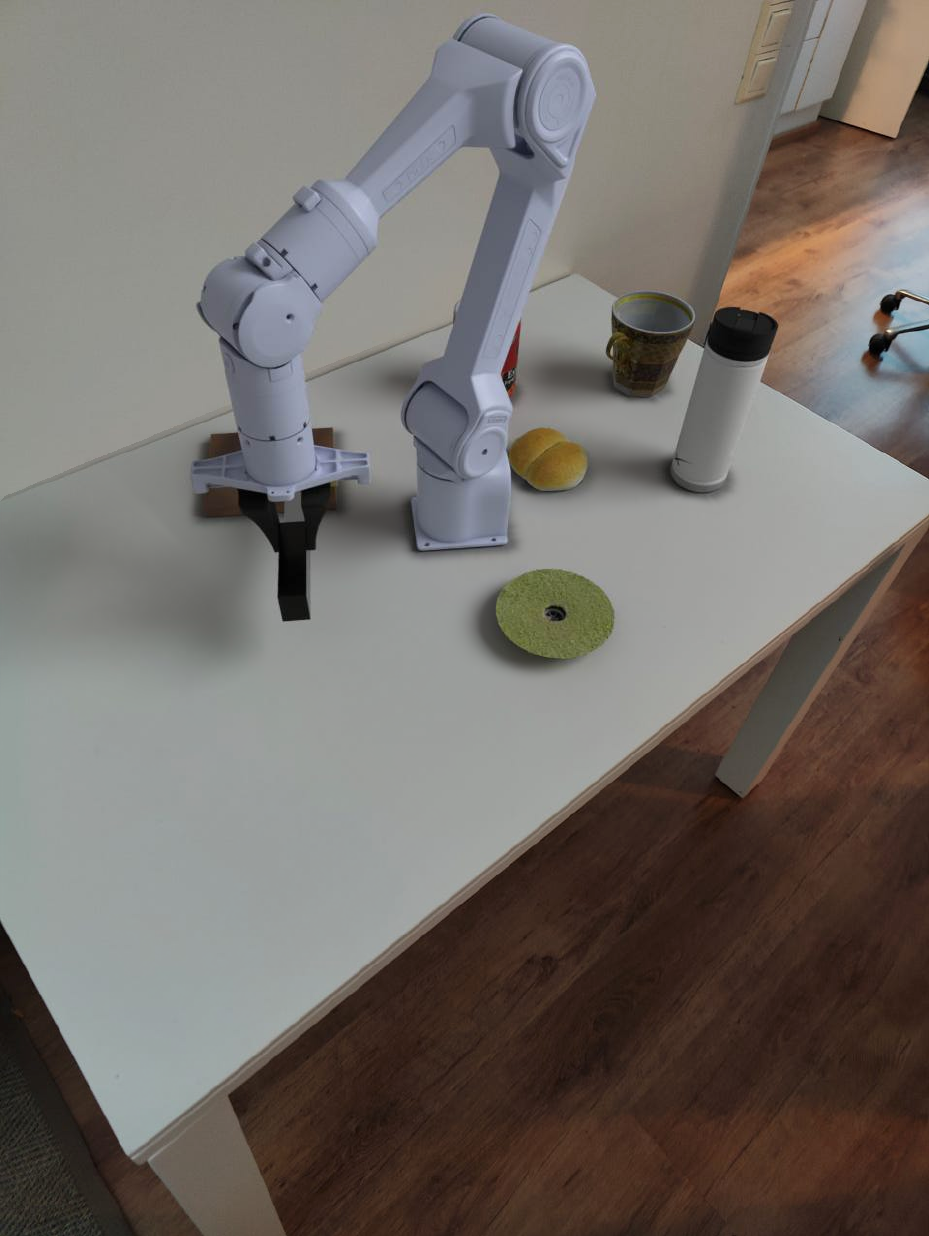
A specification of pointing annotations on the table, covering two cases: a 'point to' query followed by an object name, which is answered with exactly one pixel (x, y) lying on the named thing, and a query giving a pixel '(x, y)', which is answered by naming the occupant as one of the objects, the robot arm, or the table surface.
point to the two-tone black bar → (293, 564)
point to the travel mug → (722, 397)
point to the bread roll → (548, 460)
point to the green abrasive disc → (555, 613)
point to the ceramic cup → (647, 340)
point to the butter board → (226, 498)
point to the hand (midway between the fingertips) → (294, 543)
